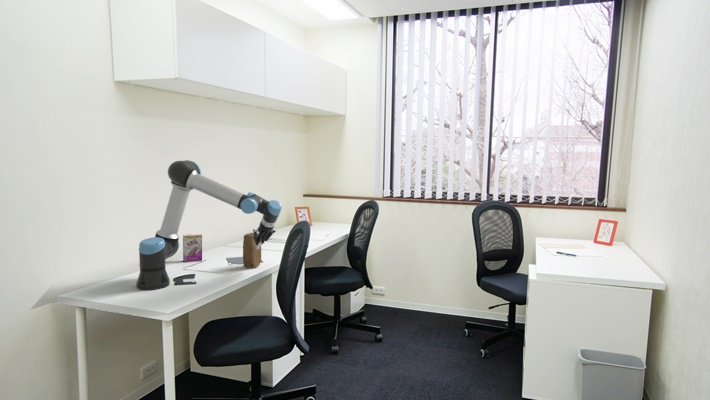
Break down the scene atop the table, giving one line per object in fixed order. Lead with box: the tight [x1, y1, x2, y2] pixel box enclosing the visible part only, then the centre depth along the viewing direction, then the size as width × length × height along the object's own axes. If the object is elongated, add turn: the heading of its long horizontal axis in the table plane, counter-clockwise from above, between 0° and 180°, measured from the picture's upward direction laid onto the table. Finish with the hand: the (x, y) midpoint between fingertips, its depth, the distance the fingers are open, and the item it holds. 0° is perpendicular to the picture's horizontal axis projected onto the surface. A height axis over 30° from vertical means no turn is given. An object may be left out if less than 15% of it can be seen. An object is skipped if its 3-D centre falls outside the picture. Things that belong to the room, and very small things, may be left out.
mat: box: [226, 256, 264, 265], centre depth 273 cm, size 20×18×1 cm
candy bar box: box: [182, 233, 203, 263], centre depth 270 cm, size 11×5×16 cm, turn 111°
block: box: [242, 232, 262, 269], centre depth 258 cm, size 11×8×20 cm
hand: (257, 247), depth 251 cm, fingers closed
